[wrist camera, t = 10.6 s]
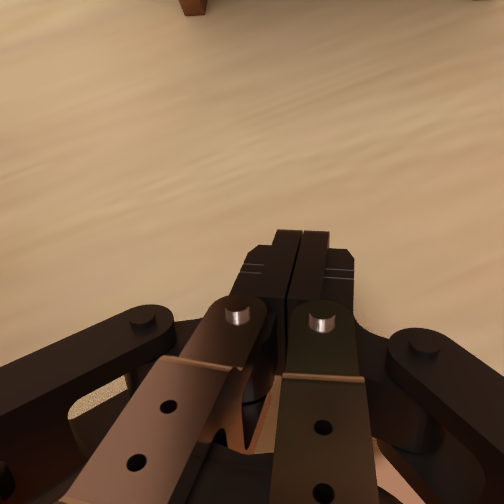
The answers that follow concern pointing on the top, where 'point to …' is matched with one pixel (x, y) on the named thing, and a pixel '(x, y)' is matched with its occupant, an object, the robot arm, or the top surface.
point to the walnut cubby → (193, 7)
